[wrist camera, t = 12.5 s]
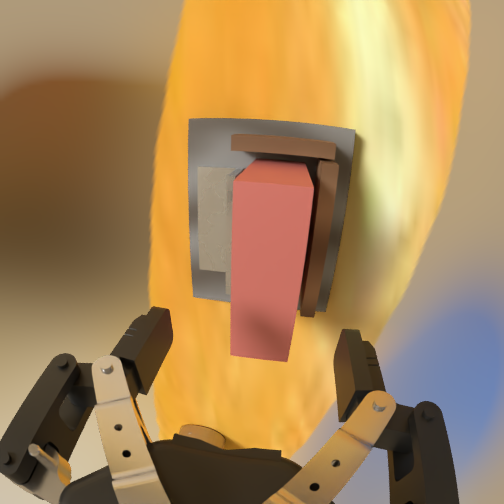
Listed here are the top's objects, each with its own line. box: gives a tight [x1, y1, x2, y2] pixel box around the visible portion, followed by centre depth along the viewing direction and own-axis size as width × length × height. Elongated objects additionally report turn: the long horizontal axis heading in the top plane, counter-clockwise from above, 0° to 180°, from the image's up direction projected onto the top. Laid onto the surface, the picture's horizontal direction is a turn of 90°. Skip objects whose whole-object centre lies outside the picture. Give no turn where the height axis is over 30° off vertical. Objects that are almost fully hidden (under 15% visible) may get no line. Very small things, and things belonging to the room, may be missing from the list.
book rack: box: [188, 118, 355, 317], centre depth 24 cm, size 18×14×6 cm
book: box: [231, 158, 314, 362], centre depth 21 cm, size 4×12×10 cm, turn 177°
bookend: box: [198, 166, 244, 294], centre depth 24 cm, size 10×4×4 cm, turn 177°
